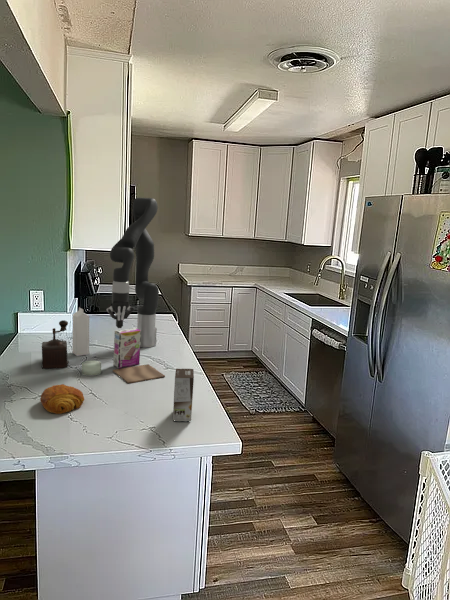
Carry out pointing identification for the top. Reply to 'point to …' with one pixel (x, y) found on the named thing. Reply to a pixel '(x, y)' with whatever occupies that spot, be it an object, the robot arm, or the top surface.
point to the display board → (138, 373)
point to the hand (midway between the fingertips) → (119, 327)
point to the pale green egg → (91, 368)
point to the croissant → (61, 399)
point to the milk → (80, 333)
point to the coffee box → (183, 394)
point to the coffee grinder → (55, 351)
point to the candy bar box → (127, 347)
